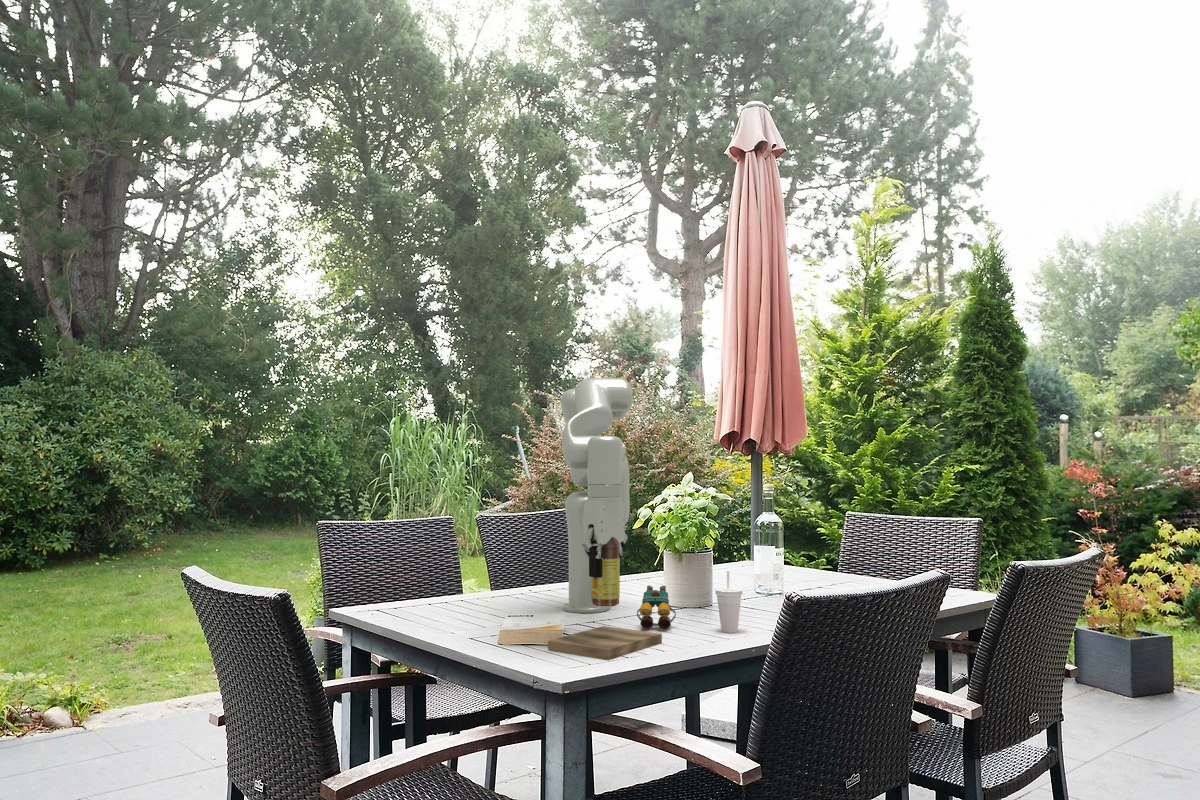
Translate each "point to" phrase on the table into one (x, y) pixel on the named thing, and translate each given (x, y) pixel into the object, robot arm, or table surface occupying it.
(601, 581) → the sauce bottle
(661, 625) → the binoculars
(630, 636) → the walnut board
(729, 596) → the smoothie
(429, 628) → the table surface
